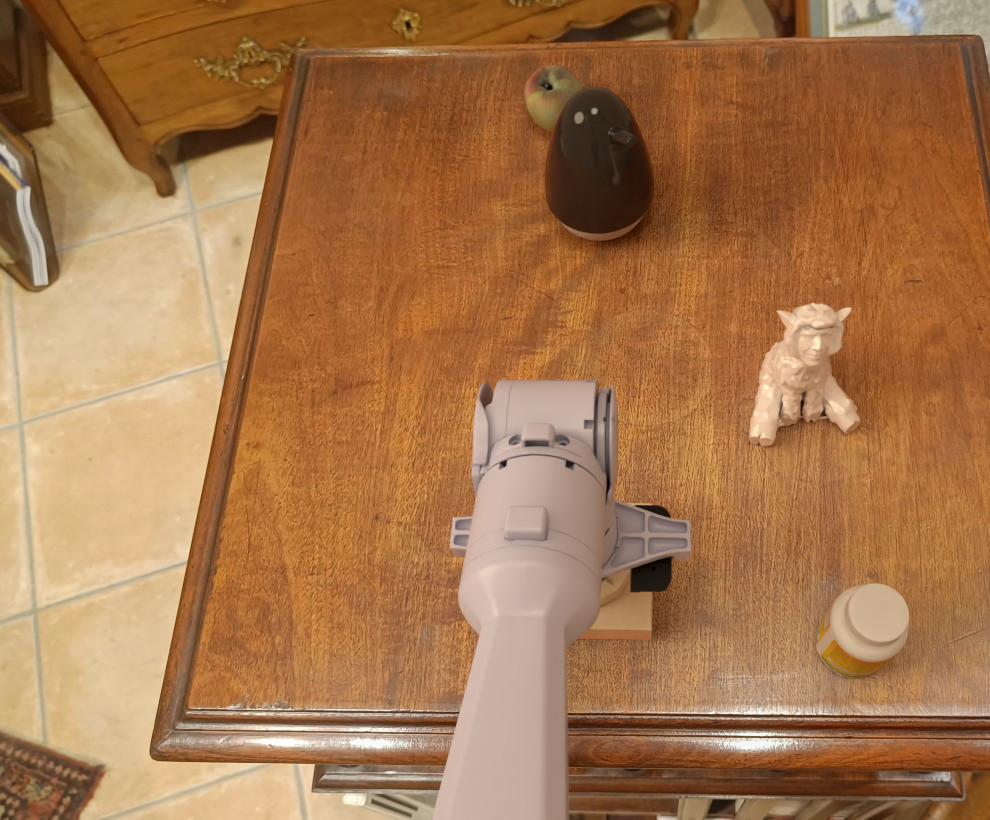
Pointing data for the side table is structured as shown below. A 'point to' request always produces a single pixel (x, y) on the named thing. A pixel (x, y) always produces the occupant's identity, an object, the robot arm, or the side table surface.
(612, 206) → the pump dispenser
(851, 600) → the supplement bottle
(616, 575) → the push button box
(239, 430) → the side table surface
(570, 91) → the apple
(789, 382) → the white creature statuette
